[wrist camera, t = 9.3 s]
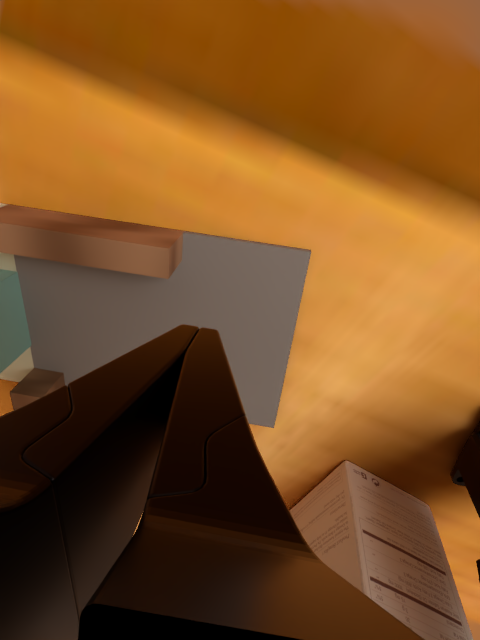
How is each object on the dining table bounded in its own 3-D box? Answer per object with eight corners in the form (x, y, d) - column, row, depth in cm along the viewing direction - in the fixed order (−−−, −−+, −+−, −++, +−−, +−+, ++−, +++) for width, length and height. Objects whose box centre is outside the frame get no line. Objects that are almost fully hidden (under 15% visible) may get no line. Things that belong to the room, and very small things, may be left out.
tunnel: (184, 230, 20) (169, 248, 18) (175, 449, 28) (163, 482, 26) (8, 204, 21) (-30, 218, 18) (47, 426, 29) (24, 455, 26)
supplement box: (363, 550, 31) (398, 796, 20) (284, 510, 30) (276, 746, 19) (433, 503, 28) (522, 770, 17) (346, 455, 26) (380, 706, 15)
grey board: (310, 250, 20) (311, 252, 20) (274, 424, 26) (273, 428, 26) (-63, 193, 21) (-68, 194, 21) (-17, 372, 27) (-20, 375, 27)
